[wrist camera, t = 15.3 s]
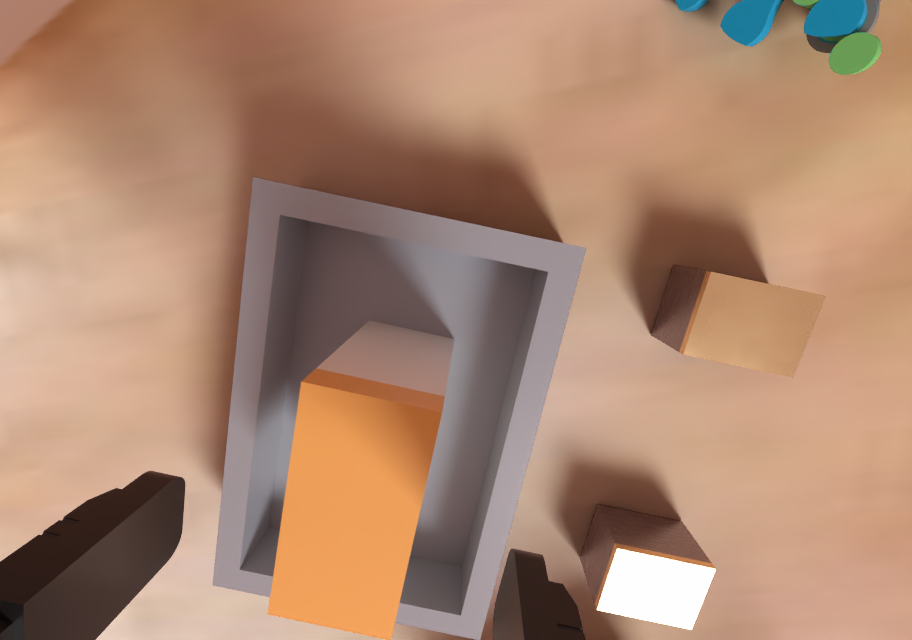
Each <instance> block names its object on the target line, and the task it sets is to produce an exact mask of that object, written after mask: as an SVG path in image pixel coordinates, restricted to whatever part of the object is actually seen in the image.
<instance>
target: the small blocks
mask: <svg viewBox="0 0 912 640" xmlns="http://www.w3.org/2000/svg"><path fill="white" fill-rule="evenodd" d="M825 297H826V296H823V295H819V294H814V293H809V292H805V291H800V290H795V289H791V288H786V287H781V286H776V285H772V284H767V283H762V282H758V281H753V280H748V279H744V278H739V277H734V276H729V275H725V274H720V273H715V272H711V271H705V270H700V269H694V268H689V267H684V266H678V265H673V268H672V271H671V274H670V277H669V280H668V283H667V286H666V290H665V293H664V296H663V299H662V302H661V305H660V308H659V312H658V315H657V318H656V321H655V324H654V327H653V330H652V334H651V335H652V336H653V337H655V338H657V339H658V340H660V341H662V342H663V343H665V344H667V345H668V346H670V347H672V348H673V349H675V350H677V351H678V352H680V353H682V354H683V355H688V356H693V357H698V358H702V359H707V360H712V361H717V362H721V363H726V364H731V365H735V366H740V367H745V368H750V369H754V370H759V371H764V372H769V373H773V374H778V375H783V376H787V377H792V378H793V376H794V374H795V371H796V369H797V366H798V364H799V361H800V359H801V356H802V354H803V351H804V349H805V347H806V344H807V342H808V339H809V337H810V334H811V332H812V329H813V327H814V324H815V322H816V319H817V317H818V314H819V312H820V309H821V307H822V304H823V302H824V299H825ZM580 560H581V563H582V566H583V569H584V572H585V575H586V579H587V582H588V585H589V588H590V591H591V594H592V597H593V600H594V603H595V606H596V609H597V610H599V611H604V612H609V613H614V614H619V615H623V616H628V617H633V618H638V619H643V620H648V621H652V622H657V623H662V624H667V625H672V626H676V627H681V628H686V629H691V630H692V627H693V625H694V622H695V620H696V617H697V615H698V612H699V610H700V607H701V605H702V602H703V600H704V597H705V595H706V592H707V590H708V587H709V585H710V583H711V580H712V578H713V575H714V573H715V570H716V569H715V567H714V566H713V564H712V563H711V562H710V560H709V559H708V557H707V556H706V555H705V553H704V552H703V550H702V549H701V548H700V546H699V545H698V543H697V542H696V541H695V539H694V538H693V536H692V535H691V534H690V532H689V531H688V529H687V528H686V526H685V525H684V524H683V522H681V521H676V520H672V519H667V518H662V517H657V516H653V515H648V514H643V513H638V512H633V511H629V510H624V509H619V508H614V507H610V506H605V505H600V504H597V507H596V510H595V513H594V516H593V519H592V522H591V525H590V529H589V532H588V535H587V538H586V541H585V544H584V547H583V551H582V554H581V557H580Z"/></svg>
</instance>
